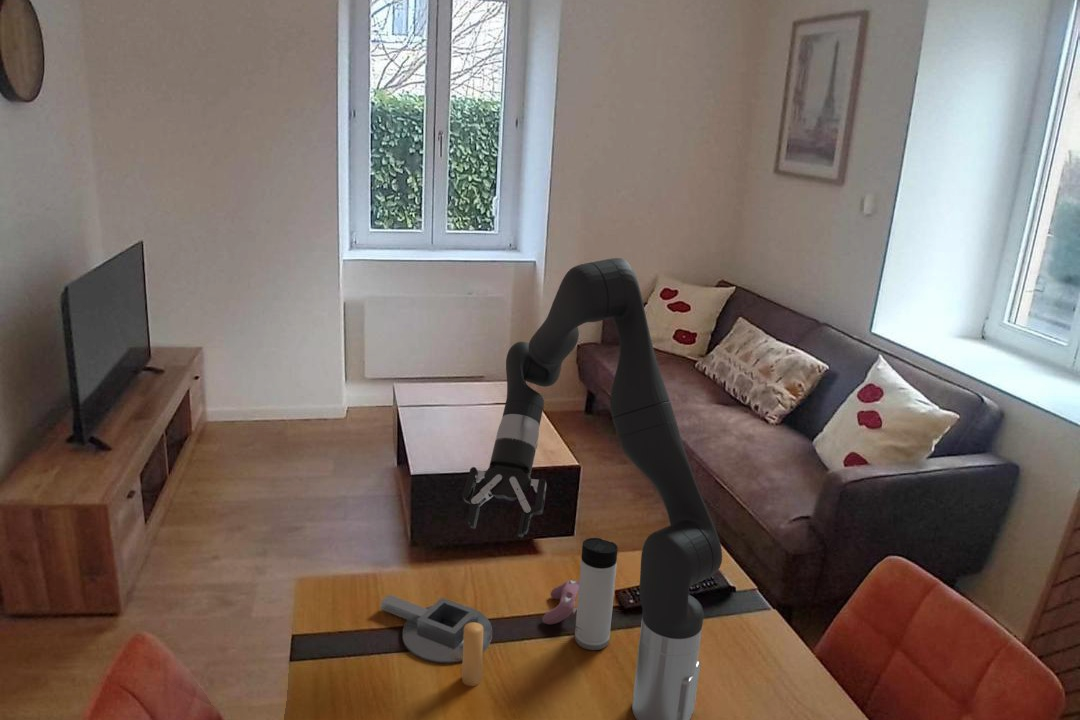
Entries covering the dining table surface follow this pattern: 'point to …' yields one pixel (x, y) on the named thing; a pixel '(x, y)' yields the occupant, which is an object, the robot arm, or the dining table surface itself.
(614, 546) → the travel mug
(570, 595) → the video game controller
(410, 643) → the grey handled frame
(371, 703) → the dining table surface
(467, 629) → the wedge pin
